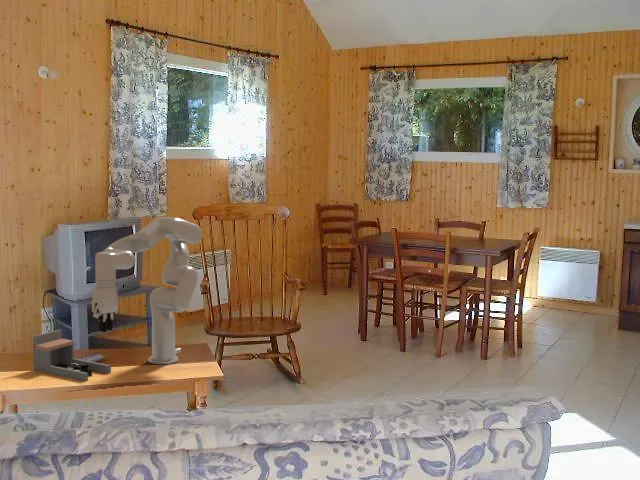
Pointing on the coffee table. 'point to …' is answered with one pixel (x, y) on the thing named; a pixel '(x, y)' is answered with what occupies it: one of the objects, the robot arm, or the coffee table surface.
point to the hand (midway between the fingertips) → (106, 330)
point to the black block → (85, 369)
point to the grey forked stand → (60, 356)
